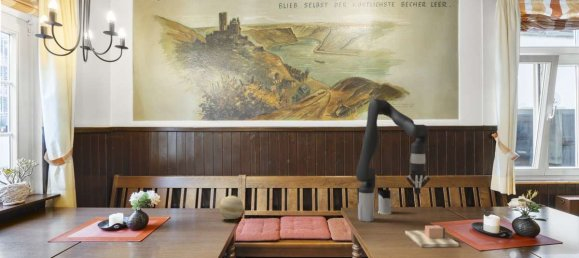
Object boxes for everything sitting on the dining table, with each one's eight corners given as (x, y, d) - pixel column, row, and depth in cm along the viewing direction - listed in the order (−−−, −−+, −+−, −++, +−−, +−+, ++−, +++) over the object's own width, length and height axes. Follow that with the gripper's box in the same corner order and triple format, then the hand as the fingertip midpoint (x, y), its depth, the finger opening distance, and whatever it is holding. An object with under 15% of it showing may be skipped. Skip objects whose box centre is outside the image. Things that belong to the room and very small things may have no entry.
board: (421, 247, 170) (421, 244, 170) (405, 233, 192) (405, 230, 192) (458, 246, 170) (458, 243, 170) (438, 232, 192) (438, 230, 192)
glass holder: (376, 211, 241) (375, 189, 241) (396, 210, 243) (395, 188, 243) (380, 214, 233) (380, 191, 233) (401, 213, 234) (401, 191, 234)
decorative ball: (214, 220, 225) (214, 196, 224) (232, 215, 236) (232, 192, 236) (229, 224, 215) (229, 199, 215) (248, 218, 226) (248, 195, 226)
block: (429, 228, 178) (444, 228, 179) (425, 225, 183) (440, 225, 184) (429, 238, 178) (444, 238, 179) (425, 235, 183) (440, 235, 184)
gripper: (407, 162, 185) (407, 195, 186) (433, 163, 185) (432, 196, 186) (403, 161, 193) (402, 192, 193) (427, 161, 193) (426, 193, 193)
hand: (417, 194), depth 189 cm, fingers closed
